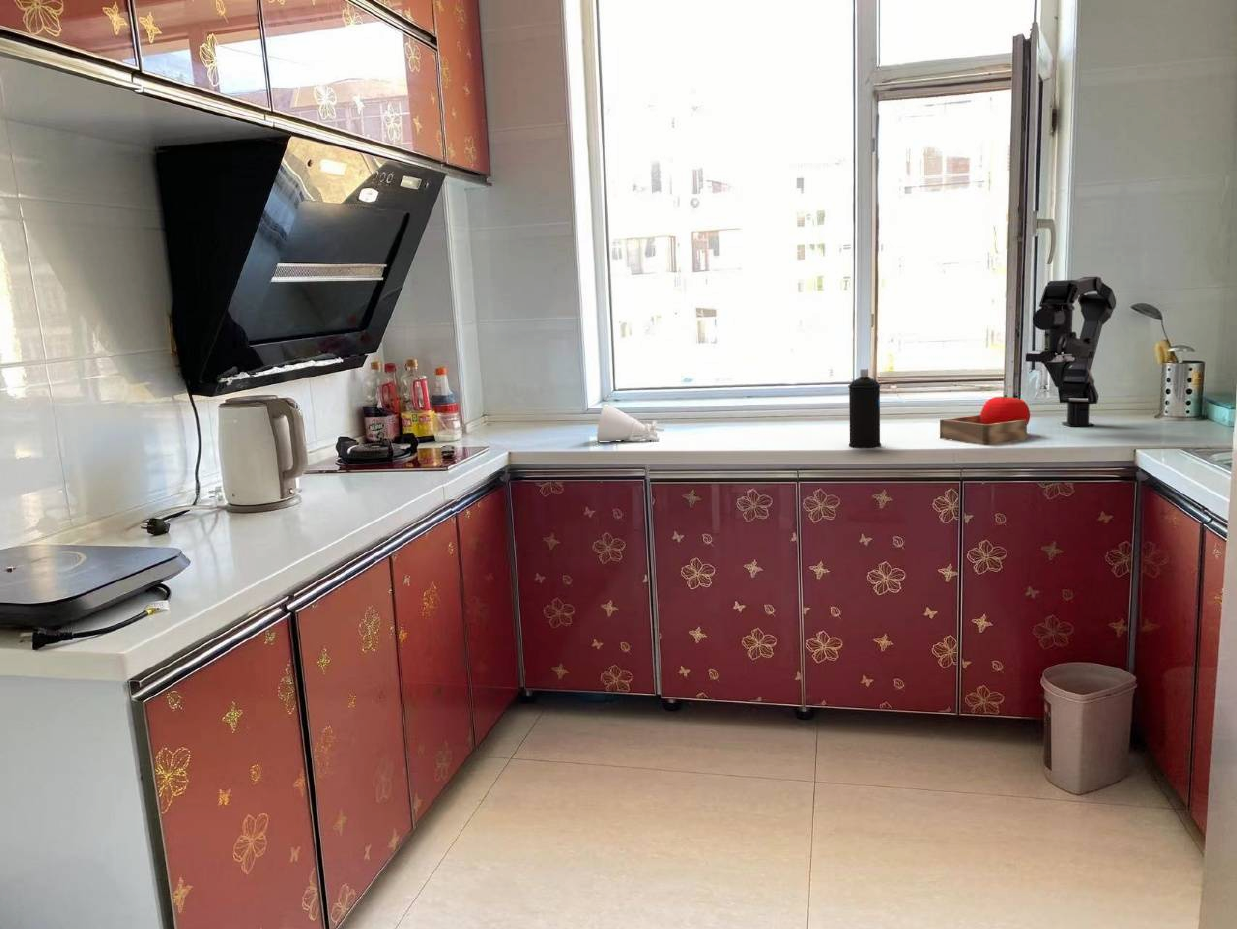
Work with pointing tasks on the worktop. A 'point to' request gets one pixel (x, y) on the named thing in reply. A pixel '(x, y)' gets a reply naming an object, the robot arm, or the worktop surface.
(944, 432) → the tray
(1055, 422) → the worktop surface
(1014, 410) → the tomato
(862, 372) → the aerosol can
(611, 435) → the rocket engine
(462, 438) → the worktop surface
